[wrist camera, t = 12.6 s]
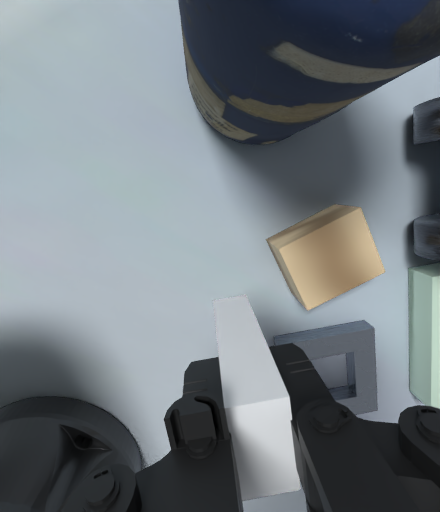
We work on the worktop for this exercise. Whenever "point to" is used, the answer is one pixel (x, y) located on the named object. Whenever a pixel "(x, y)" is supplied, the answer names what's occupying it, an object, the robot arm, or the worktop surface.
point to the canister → (297, 58)
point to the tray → (424, 333)
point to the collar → (357, 356)
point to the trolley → (435, 225)
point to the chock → (326, 254)
